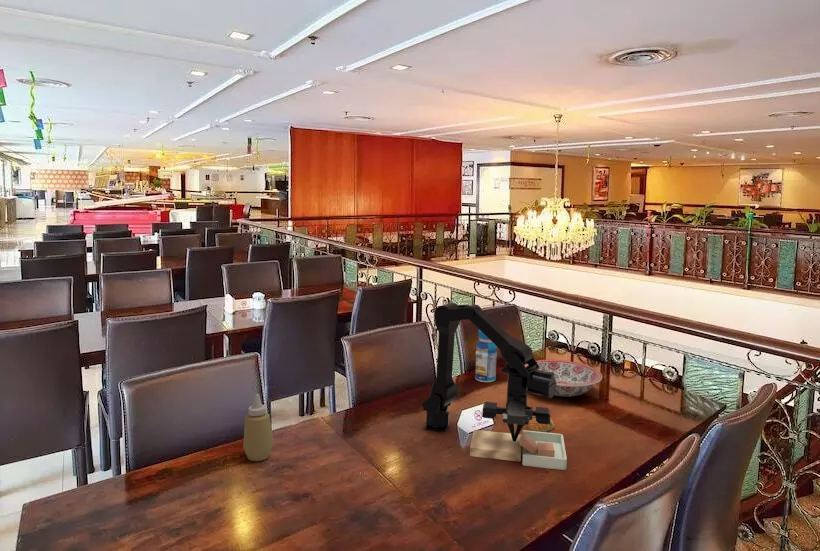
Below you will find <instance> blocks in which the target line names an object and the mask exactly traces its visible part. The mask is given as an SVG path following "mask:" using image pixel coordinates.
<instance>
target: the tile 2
mask: <svg viewBox="0 0 820 551" xmlns="http://www.w3.org/2000/svg"><path fill="white" fill-rule="evenodd" d="M537 454H538V456H546V457H554V454H555V450H554V446H553V443H542V442H537Z"/></svg>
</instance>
